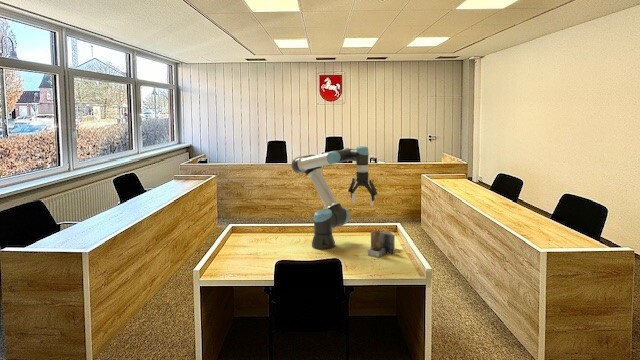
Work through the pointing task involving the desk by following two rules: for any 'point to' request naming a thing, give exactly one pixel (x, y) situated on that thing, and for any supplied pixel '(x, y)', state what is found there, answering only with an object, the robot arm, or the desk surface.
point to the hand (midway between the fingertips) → (362, 204)
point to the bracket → (383, 245)
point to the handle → (376, 240)
